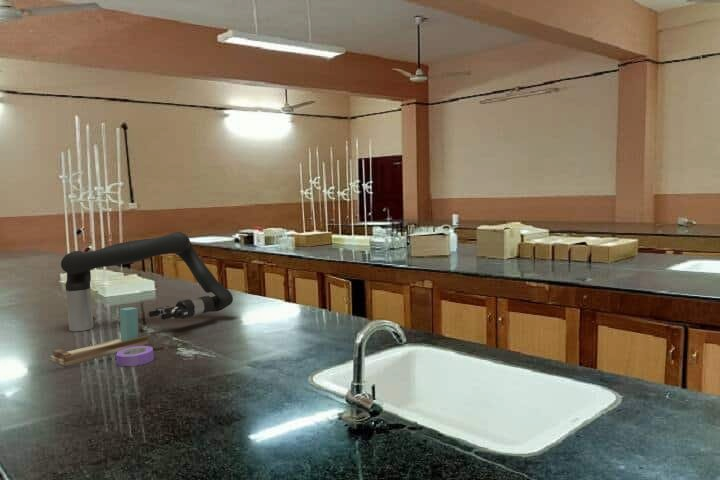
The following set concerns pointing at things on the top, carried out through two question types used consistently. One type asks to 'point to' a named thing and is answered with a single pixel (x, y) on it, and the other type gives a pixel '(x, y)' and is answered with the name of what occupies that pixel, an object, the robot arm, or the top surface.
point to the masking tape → (135, 356)
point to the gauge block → (129, 323)
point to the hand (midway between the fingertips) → (155, 315)
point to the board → (95, 351)
